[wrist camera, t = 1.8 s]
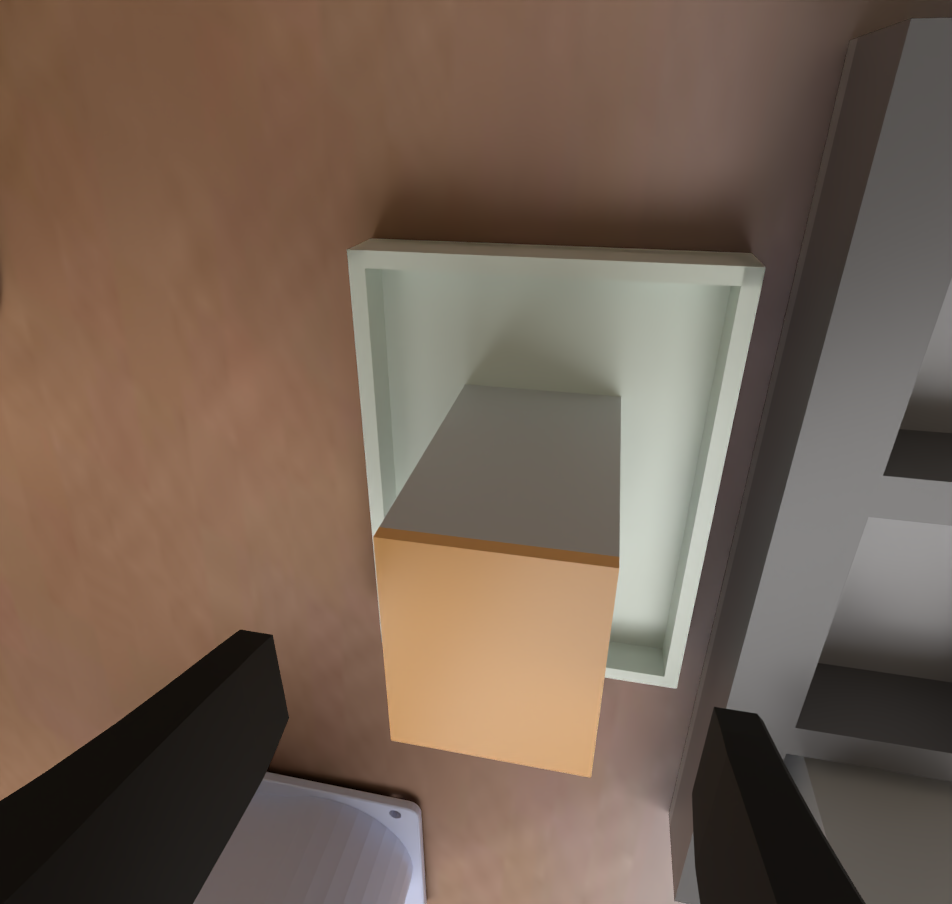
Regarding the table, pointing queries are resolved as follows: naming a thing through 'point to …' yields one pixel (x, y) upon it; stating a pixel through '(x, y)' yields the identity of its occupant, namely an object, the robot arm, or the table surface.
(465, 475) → the plug
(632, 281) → the tray
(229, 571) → the table surface
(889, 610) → the grey slotted rack
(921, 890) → the twin plug
